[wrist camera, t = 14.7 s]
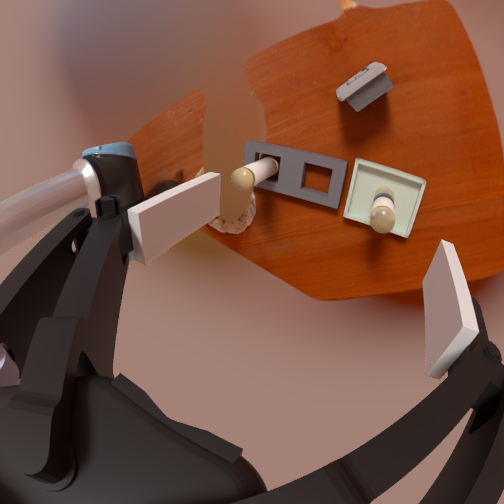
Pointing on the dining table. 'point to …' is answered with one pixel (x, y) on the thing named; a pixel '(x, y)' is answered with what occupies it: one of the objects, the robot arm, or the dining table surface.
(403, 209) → the parts tray
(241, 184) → the fuse
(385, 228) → the fuse
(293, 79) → the dining table surface
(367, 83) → the electrical switch
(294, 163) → the fuse block
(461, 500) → the robot arm
